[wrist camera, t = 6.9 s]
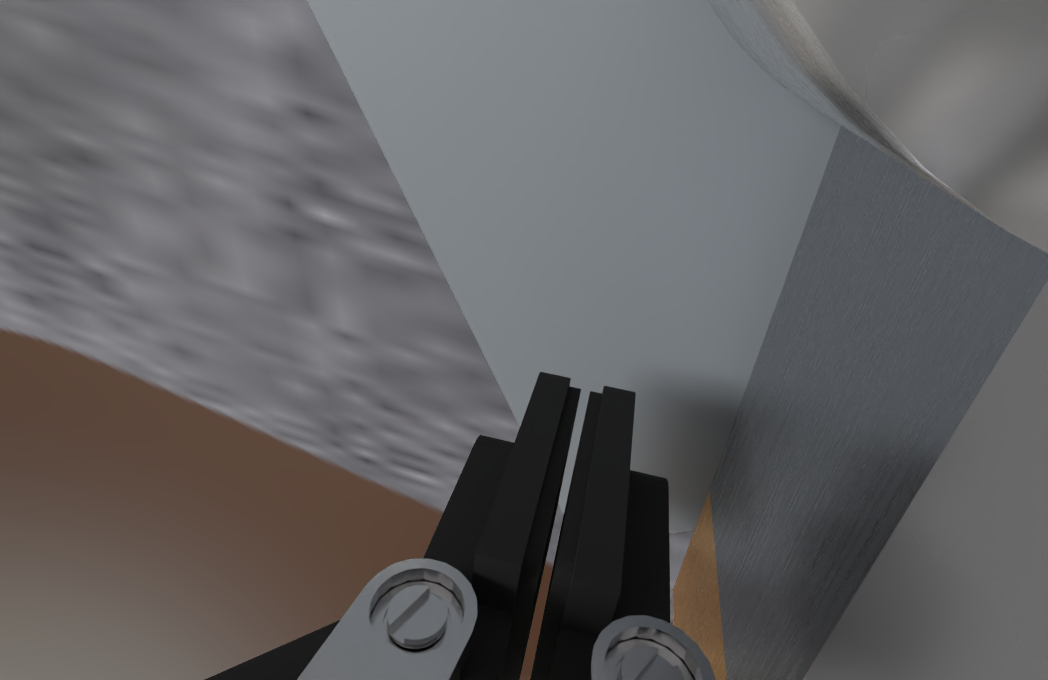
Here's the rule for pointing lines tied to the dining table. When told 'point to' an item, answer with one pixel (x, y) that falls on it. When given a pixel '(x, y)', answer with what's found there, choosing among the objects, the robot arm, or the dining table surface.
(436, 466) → the dining table surface
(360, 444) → the dining table surface
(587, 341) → the mounting board
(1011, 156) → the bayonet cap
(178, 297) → the dining table surface
